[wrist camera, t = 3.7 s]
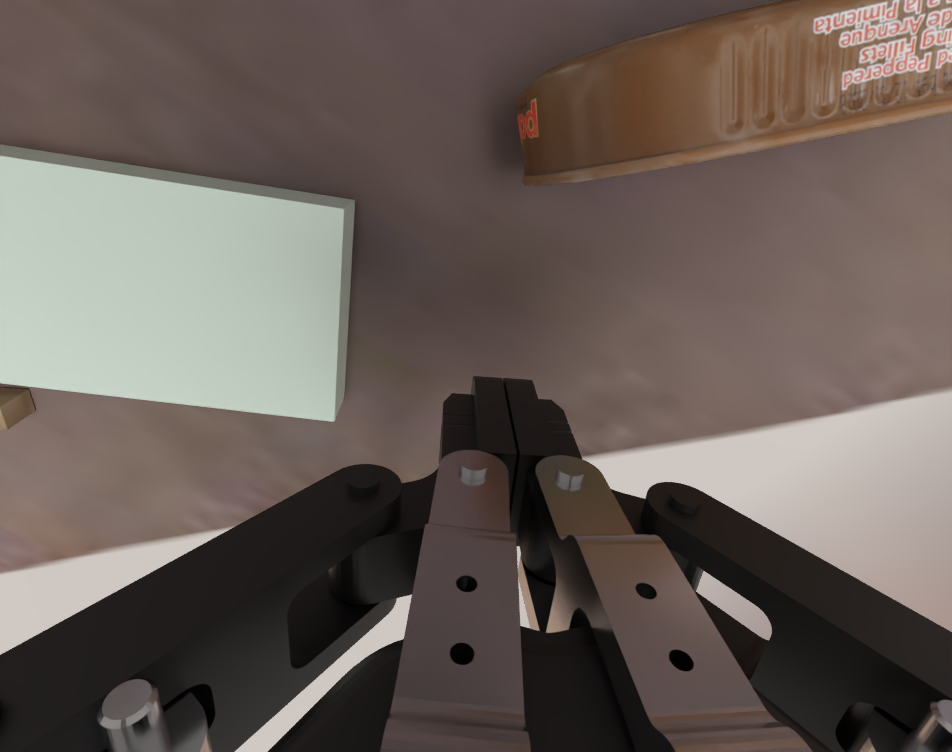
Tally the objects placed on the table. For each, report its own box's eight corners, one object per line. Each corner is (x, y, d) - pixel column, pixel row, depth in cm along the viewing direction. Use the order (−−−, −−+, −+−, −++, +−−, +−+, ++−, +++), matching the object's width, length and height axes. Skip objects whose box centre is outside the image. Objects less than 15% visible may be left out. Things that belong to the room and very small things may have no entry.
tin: (511, 180, 19) (548, 223, 11) (497, 80, 17) (528, 50, 10) (951, 93, 18) (1317, 74, 10) (972, -20, 16) (1414, -138, 9)
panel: (-96, 126, 18) (-176, 128, 15) (357, 197, 19) (344, 208, 17) (-33, 345, 21) (-91, 372, 19) (346, 391, 22) (334, 421, 20)
